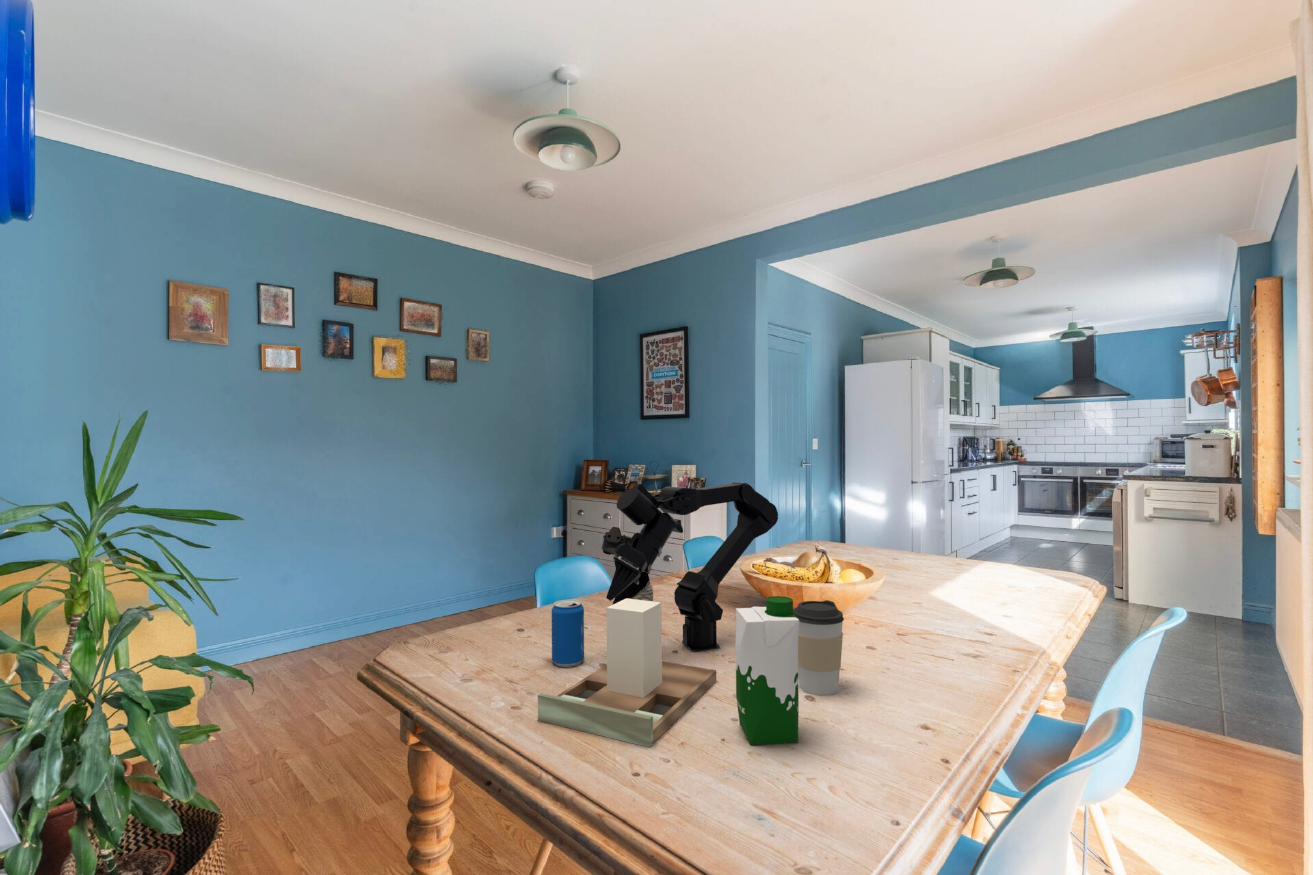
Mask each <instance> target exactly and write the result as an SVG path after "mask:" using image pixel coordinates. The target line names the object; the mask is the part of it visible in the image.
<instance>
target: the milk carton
mask: <svg viewBox="0 0 1313 875" xmlns="http://www.w3.org/2000/svg"><path fill="white" fill-rule="evenodd" d="M765 601H766V602H765V606H752V607H738V608H737V607H736V608H735V693H736V694H735V697H736V698H735V699H736V704H737V705H736V706H737V713H738V719H739V720H738V721H739V724H740V726H741V729H742V732H743V733H744V735H745V737H746V739H747V741H748V743H749V745H750V746H757V745H758V746H759V745H760V746H761V745H776V744H777V745H780V744H795V743H796V744H797V743H798V742H799V711H800V710H799V709H800V708H799V706H800V705H799V704H800V702H799V698H800V697H799V696H800V695H799V679H798V634H799V619H797V617H796V616H795V613H794V612H793V610H794V599H793V598H791V597H788V596H783V595H781V596H780V595H775V596H774V595H773V596H772V595H771V596H769V597H767V598H765Z"/></svg>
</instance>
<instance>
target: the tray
mask: <svg viewBox="0 0 1313 875" xmlns="http://www.w3.org/2000/svg"><path fill="white" fill-rule="evenodd" d="M716 682H717V670H716V669H711V668H706V667H700V666H693V665H687V664H683V663H681V664H680V663H675V662H670V661H669V662H668V661H663V660H662V683H661V684H660V685H659V686H657V687H656V688H655V689H654V690H653V691H651V692H650V693H649V694H648V695H646V696H645V697H644V698H642V697H637V696H632V695H627V694H622V693H617V692H612V691H607V663H606V664H605V665H604V666H602V667H600V668H598V669H597V670H595V671H594V672H592V673H591V674H589V675H588V676H586V677H584V678H583V679H581V680H580V681H578V682H576V683H575V684H573V685H572V686H570V687H568V688H567V689H565V690H564V691H562V692H561V693H559V694H558V695H554V694H548V693H544V692H540V693H539V694H537V721H539V722H541V723H546V724H550V723H551V724H552V725H554V726H558V727H564V728H569V729H573V730H577V731H580V732H584V733H589V734H593V735H597V736H601V737H606V738H610V739H614V740H618V741H622V742H626V743H629V744H630V743H631V744H635V745H638V746H643V747H647V748H651V747H652V746H653V745H654V744H655V743H656V742H657V741H658V740H659V739H660V738H661V737H662V736H663V735H664V734H665V733H666V732H667V731H668V730H669V729H670V728H671V727H672V726H673V725H674V724H675V723H676V722H677V721H678V720H679V719H680V718H681V717H682V716H683V715H685V713H686V712H687V711H688V710H689V709H690V708H691V707H692V706H693V705H694V704H695V703H696V702H697V701H698V700H699V699H700V698H701V697H702V696H703V695H704V694H706V692H707V691H708V690H709V689H710V688H711V687H713V685H714V684H716Z"/></svg>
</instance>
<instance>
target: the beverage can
mask: <svg viewBox="0 0 1313 875" xmlns="http://www.w3.org/2000/svg"><path fill="white" fill-rule="evenodd" d="M584 659H585V608H584V605H583V603H582V601H581V600H578V599H573V598H571V599H562V600H561V599H560V600H556V601H555V602H553V606H552V608H551V661H552V663H554V664H555V665H556V666H558V667H561V668H571V667H575V666H578V665H580V664H581V662H583V661H584Z"/></svg>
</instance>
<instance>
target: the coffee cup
mask: <svg viewBox="0 0 1313 875" xmlns="http://www.w3.org/2000/svg"><path fill="white" fill-rule="evenodd" d="M793 612H794V613H795V616H796V617H797V619H799V634H798V688H799V689H800V690H802V691H803V692H804V693H805V692H806V693H808V694H811V695H815V696H833V695H835V694H837V693H838V692H839V690H840V689H839V686H840V685H839V684H840V672H841V666H842V653H843V652H842V650H843V638H844V633H843V621H844V620H845V618H844V615H843V614H844V613H843V612H842V611H841V610H839V608H838V607H837V604H836V603H835V602H834V601H832V600H828V599H825V600H821V601H820V600H807V601H806V600H805V601H801V602H799V603H798V604H797V606H796V607H793Z"/></svg>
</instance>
